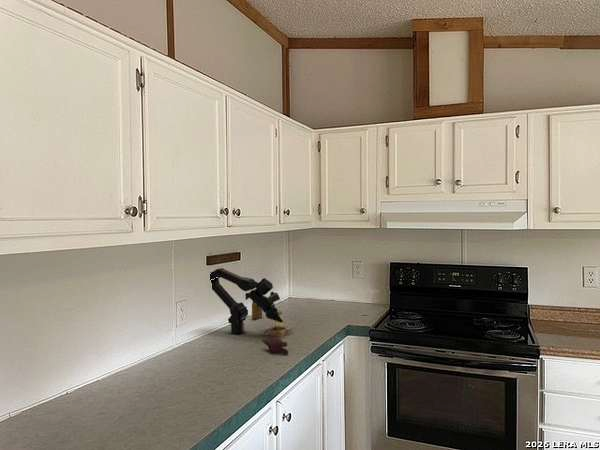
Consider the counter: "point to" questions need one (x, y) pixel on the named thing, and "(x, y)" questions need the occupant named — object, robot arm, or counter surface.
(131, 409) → the counter surface
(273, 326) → the mount mat
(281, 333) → the socket
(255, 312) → the condiment
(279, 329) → the pin
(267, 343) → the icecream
